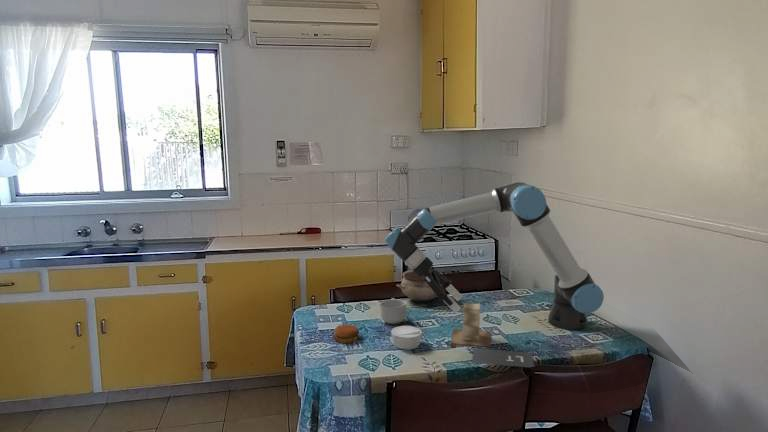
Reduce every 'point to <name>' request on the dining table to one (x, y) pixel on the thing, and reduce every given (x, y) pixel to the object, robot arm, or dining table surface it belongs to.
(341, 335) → the burger
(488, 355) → the mat
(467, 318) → the maple block
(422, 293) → the cooking pot
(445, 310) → the dining table surface
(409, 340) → the ramekin
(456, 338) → the walnut board
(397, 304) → the teacup
